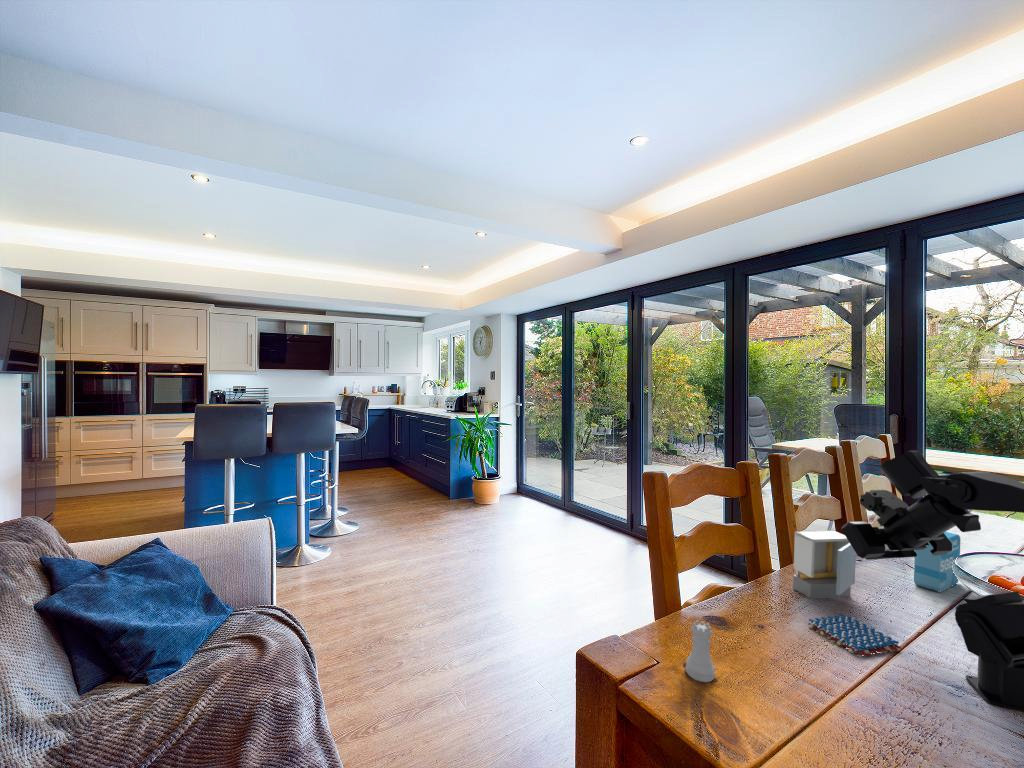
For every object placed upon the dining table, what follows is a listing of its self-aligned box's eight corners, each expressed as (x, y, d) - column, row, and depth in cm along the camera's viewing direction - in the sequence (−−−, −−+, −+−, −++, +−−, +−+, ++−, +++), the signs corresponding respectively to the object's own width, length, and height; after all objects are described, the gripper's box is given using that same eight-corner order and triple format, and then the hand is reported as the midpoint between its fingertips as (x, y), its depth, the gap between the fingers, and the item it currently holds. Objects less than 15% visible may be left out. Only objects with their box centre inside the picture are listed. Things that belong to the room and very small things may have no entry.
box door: (854, 582, 101) (856, 541, 101) (839, 595, 95) (841, 551, 94) (851, 581, 101) (853, 540, 101) (836, 594, 95) (837, 550, 95)
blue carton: (937, 593, 104) (940, 541, 104) (913, 585, 108) (915, 535, 108) (959, 583, 110) (961, 533, 110) (934, 576, 114) (936, 528, 114)
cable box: (850, 596, 102) (852, 538, 101) (810, 598, 100) (812, 539, 100) (831, 586, 107) (833, 530, 106) (792, 588, 105) (794, 531, 105)
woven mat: (859, 662, 79) (860, 650, 78) (805, 628, 89) (805, 618, 89) (904, 653, 81) (905, 642, 81) (846, 622, 92) (847, 612, 91)
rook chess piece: (690, 662, 76) (692, 614, 76) (718, 673, 74) (720, 624, 73) (681, 675, 73) (682, 625, 73) (710, 688, 70) (712, 636, 70)
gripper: (937, 479, 87) (880, 518, 99) (852, 480, 85) (803, 520, 96) (984, 534, 80) (917, 570, 91) (892, 537, 77) (834, 574, 88)
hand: (866, 557), depth 92 cm, fingers closed
